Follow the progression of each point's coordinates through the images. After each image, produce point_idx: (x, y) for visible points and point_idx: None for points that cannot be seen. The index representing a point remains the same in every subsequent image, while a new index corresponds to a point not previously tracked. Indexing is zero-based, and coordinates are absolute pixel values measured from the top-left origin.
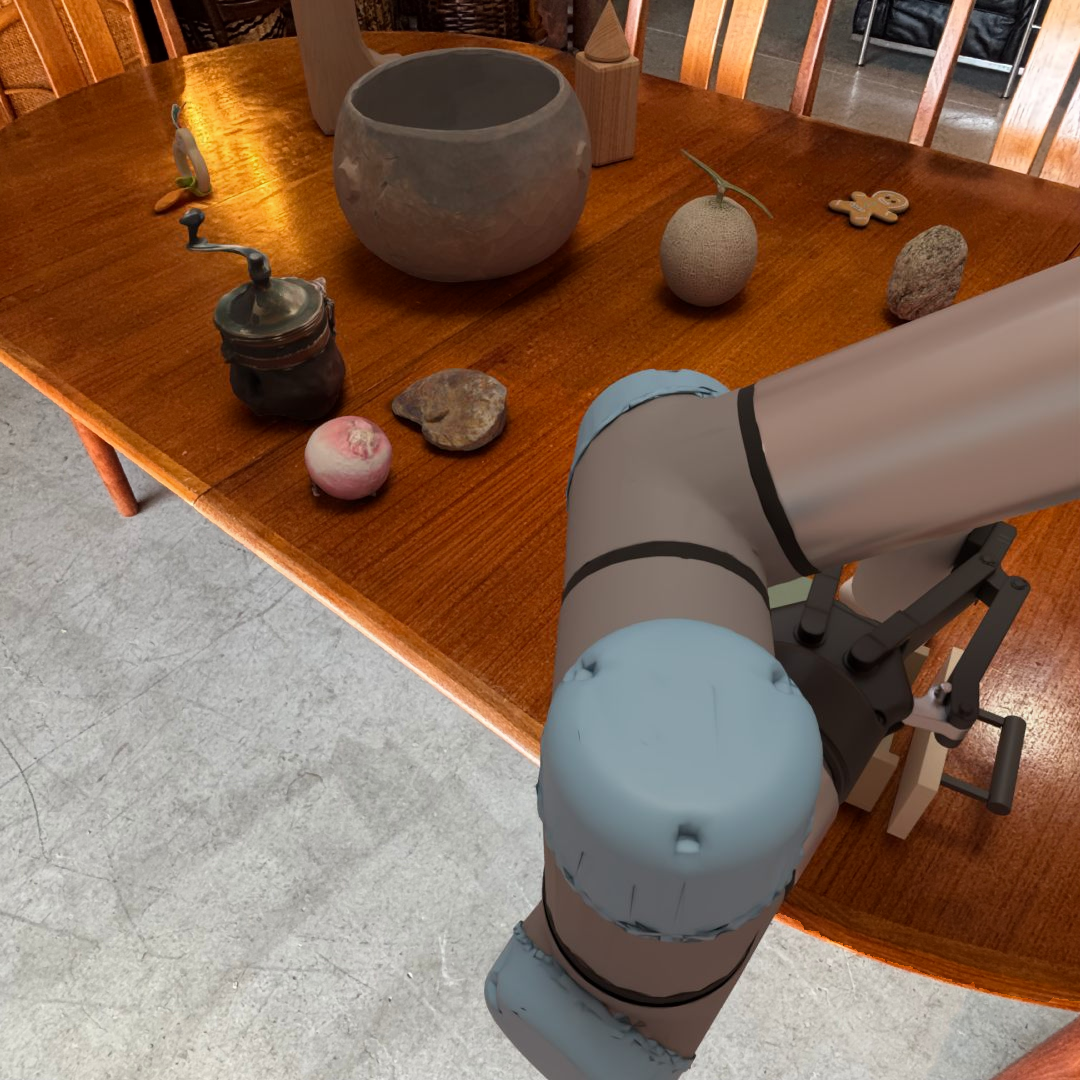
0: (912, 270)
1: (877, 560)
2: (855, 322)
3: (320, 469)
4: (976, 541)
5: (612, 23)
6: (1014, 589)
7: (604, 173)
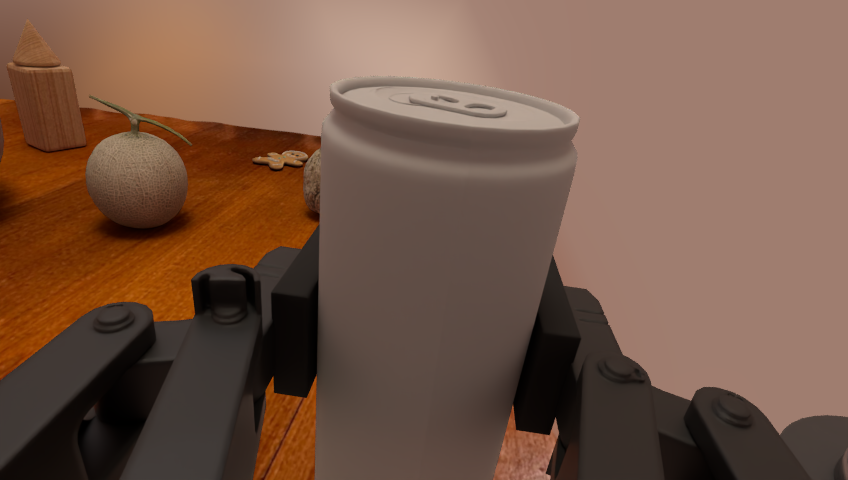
0: (317, 173)
1: (348, 460)
2: (286, 222)
3: None
4: (564, 331)
5: (34, 37)
6: (742, 431)
7: (56, 155)
